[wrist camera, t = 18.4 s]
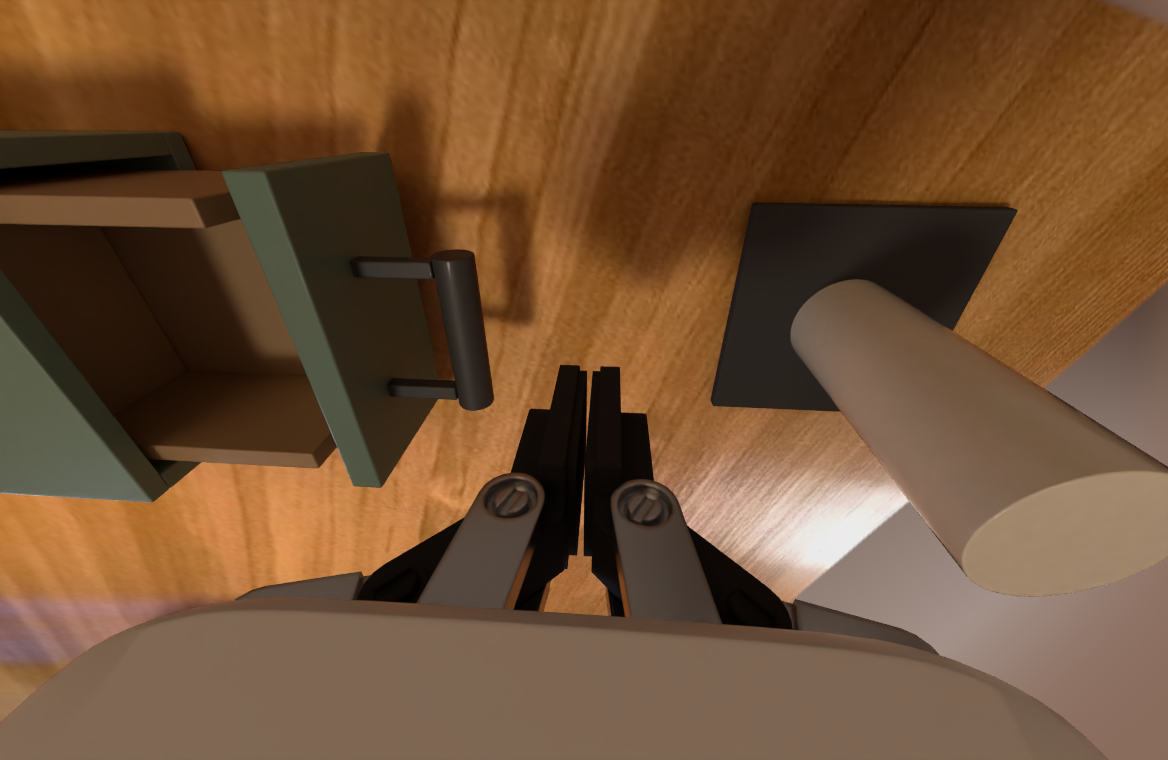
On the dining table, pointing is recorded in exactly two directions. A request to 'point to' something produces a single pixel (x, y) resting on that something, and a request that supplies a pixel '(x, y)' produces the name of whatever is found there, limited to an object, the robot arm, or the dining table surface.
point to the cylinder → (984, 448)
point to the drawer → (247, 307)
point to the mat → (833, 254)
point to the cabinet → (45, 372)
